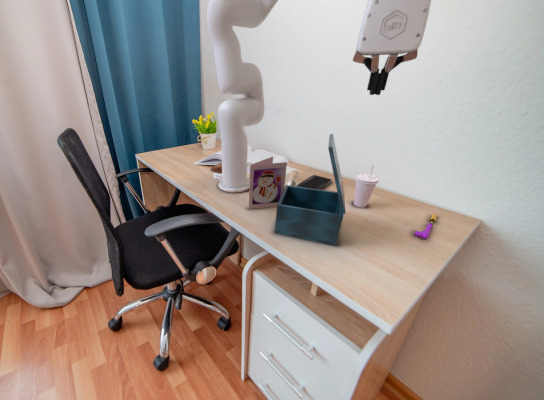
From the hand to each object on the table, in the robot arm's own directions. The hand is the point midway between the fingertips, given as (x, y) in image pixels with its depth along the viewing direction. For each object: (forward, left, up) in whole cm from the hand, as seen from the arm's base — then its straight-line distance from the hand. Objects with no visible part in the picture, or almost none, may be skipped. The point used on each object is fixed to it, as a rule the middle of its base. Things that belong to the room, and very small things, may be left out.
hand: (374, 94), depth 50 cm
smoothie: (+6, +19, -35) cm, 40 cm away
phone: (-9, +30, -35) cm, 47 cm away
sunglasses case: (-48, +39, -35) cm, 71 cm away
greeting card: (-24, +9, -35) cm, 43 cm away
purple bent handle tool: (+22, +12, -35) cm, 43 cm away
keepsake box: (-9, 0, -35) cm, 36 cm away
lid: (-4, 0, -18) cm, 18 cm away
